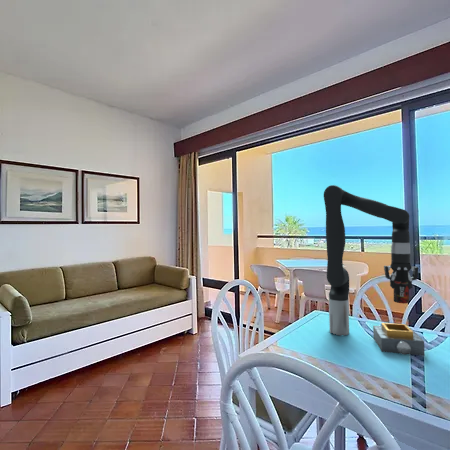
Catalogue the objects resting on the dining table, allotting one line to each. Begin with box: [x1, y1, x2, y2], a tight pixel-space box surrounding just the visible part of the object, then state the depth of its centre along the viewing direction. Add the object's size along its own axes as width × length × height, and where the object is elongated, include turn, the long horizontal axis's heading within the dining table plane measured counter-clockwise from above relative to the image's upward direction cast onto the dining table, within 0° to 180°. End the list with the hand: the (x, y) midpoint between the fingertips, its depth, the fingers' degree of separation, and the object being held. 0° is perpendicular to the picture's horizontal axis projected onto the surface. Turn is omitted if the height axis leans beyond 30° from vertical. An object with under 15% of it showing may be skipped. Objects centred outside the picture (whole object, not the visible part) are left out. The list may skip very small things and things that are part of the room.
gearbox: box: [372, 322, 425, 357], centre depth 128 cm, size 16×18×8 cm
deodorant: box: [392, 270, 410, 305], centre depth 132 cm, size 6×6×15 cm
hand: (400, 288), depth 132 cm, fingers closed on deodorant, 6 cm apart
